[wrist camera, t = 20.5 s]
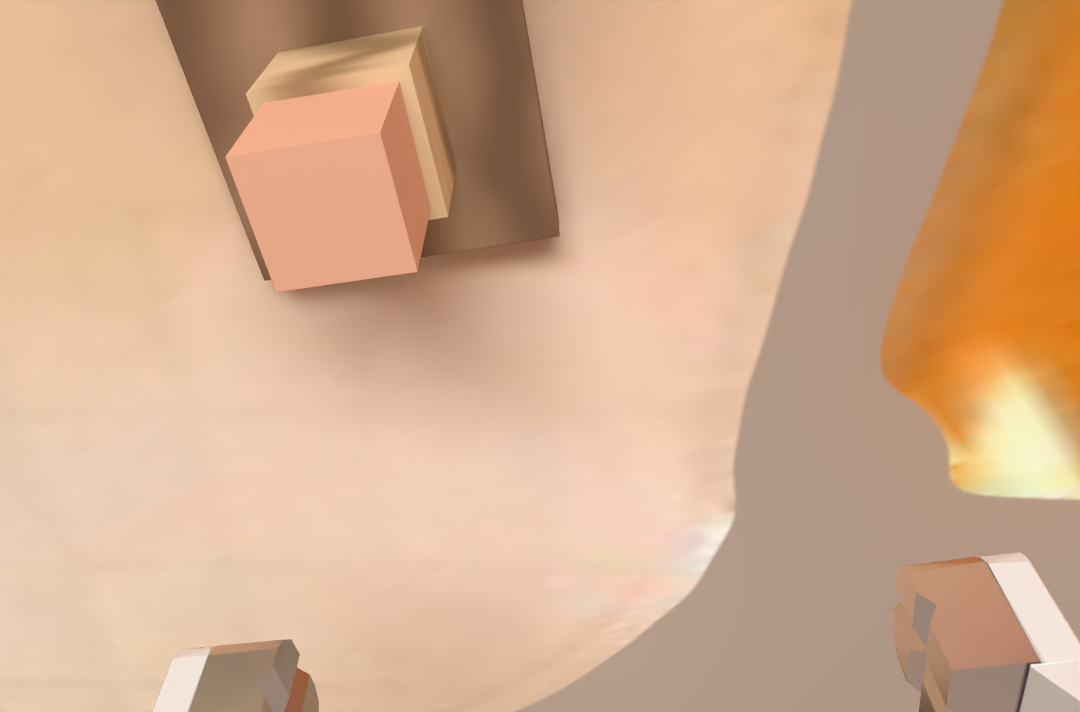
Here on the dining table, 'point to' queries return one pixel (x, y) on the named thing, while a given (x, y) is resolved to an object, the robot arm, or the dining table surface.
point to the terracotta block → (333, 187)
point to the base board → (462, 79)
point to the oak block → (367, 66)
